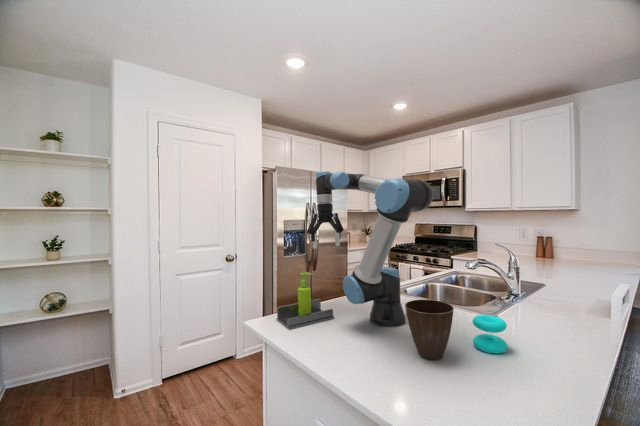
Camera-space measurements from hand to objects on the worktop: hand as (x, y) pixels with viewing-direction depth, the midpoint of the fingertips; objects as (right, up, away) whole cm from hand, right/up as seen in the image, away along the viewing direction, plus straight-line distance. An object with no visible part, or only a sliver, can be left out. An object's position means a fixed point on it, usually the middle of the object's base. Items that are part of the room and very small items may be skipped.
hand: (326, 247), depth 143 cm
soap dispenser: (-9, -31, -10) cm, 34 cm away
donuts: (+54, -29, -43) cm, 75 cm away
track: (-10, -32, -10) cm, 34 cm away
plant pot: (+33, -30, -46) cm, 64 cm away
